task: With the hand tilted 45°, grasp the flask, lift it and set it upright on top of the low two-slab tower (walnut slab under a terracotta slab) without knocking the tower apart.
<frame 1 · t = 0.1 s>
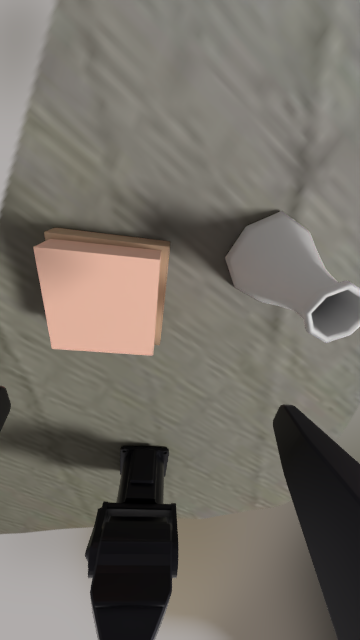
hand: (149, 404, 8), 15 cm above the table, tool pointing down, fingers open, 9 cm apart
terracotta slab: (108, 294, 20), point 2 cm above the table, touching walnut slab
flask: (267, 258, 21), on the table
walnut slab: (115, 284, 22), on the table, touching terracotta slab
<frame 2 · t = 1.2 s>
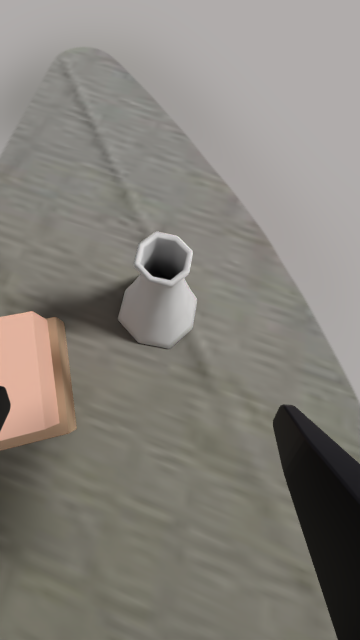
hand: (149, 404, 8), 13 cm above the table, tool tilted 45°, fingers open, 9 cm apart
flask: (158, 310, 23), on the table
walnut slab: (16, 385, 20), on the table, touching terracotta slab
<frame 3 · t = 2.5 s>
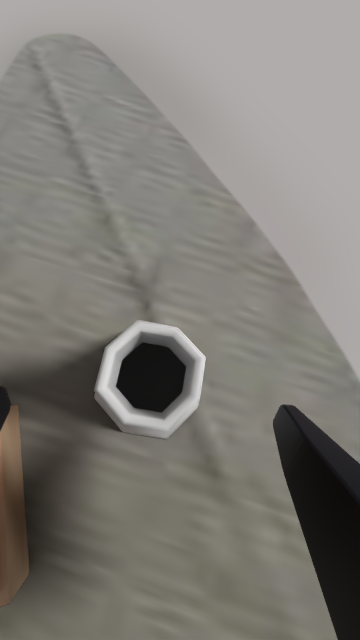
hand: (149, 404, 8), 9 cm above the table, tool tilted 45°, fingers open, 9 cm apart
flask: (151, 380, 17), on the table
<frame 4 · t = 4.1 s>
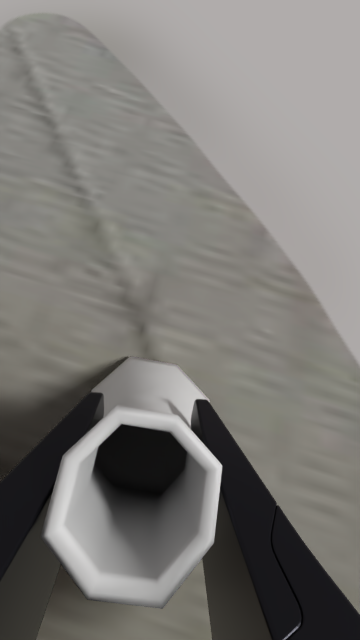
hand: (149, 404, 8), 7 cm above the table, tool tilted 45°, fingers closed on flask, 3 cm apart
flask: (147, 419, 14), on the table, touching gripper
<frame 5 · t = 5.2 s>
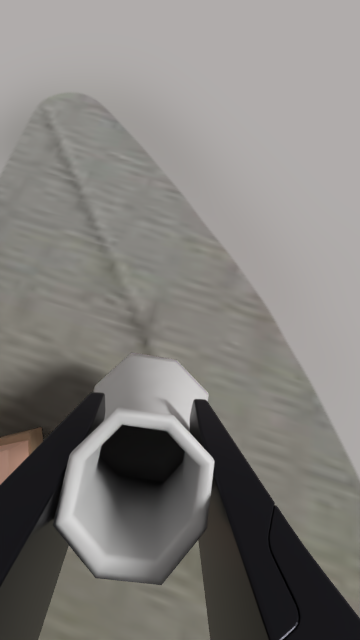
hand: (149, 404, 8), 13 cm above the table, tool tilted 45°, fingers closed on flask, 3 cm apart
flask: (148, 413, 15), point 6 cm above the table, touching gripper
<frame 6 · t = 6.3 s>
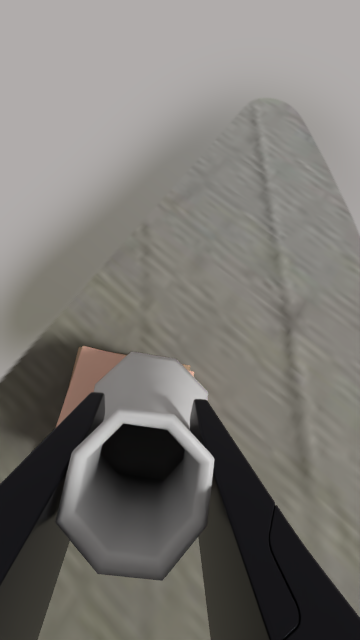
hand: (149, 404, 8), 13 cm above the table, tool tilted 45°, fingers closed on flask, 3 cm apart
terracotta slab: (127, 413, 18), point 2 cm above the table, touching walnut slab
flask: (148, 411, 15), point 6 cm above the table, touching gripper
when the fingers open (13 cm above the table, at t = 7.1 s): flask drops 1 cm, resting on terracotta slab.
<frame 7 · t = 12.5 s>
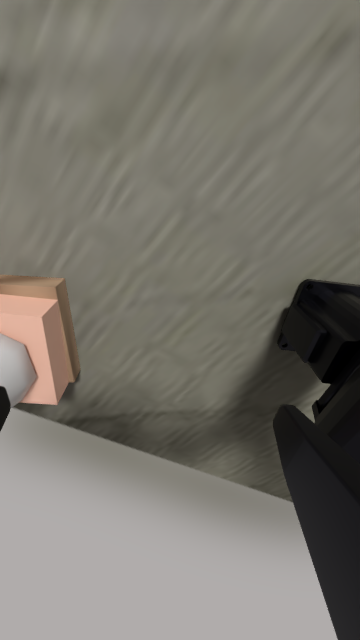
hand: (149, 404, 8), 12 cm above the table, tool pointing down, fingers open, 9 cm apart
terracotta slab: (11, 340, 19), point 2 cm above the table, touching flask, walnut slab
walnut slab: (23, 321, 21), on the table, touching terracotta slab
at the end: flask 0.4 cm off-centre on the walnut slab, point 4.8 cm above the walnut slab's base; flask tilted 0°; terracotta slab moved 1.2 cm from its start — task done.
